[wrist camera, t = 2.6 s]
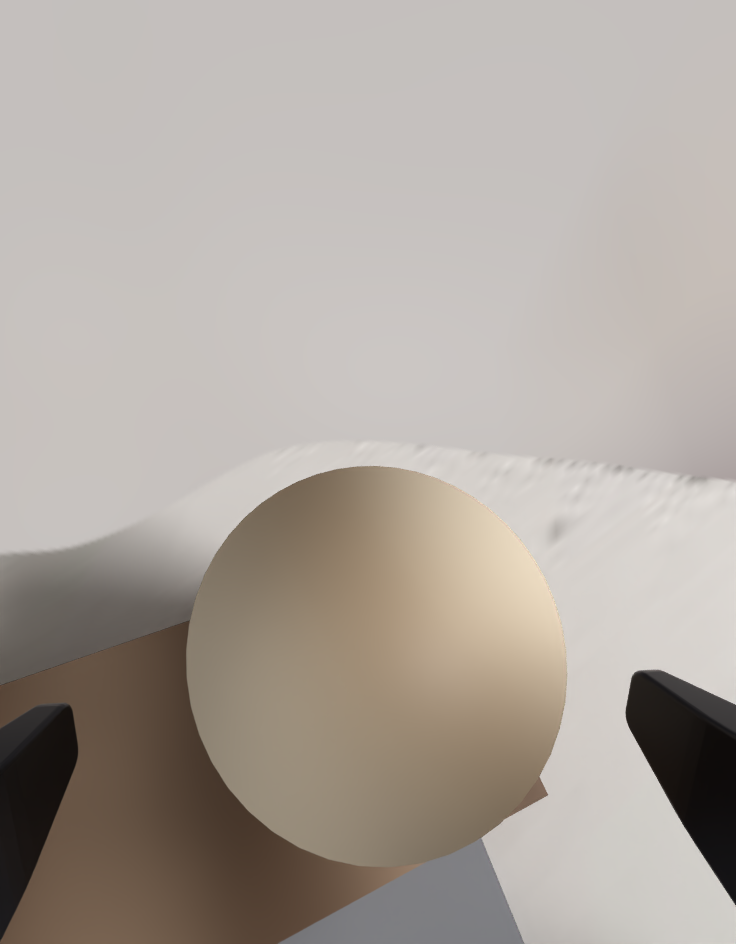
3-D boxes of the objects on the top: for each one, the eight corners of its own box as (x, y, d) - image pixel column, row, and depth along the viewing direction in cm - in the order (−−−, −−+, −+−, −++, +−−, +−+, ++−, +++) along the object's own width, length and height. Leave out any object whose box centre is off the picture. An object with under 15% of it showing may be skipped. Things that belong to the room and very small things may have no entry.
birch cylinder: (328, 854, 11) (344, 1008, 4) (225, 679, 13) (117, 587, 6) (470, 712, 13) (641, 659, 6) (362, 577, 15) (401, 418, 8)
